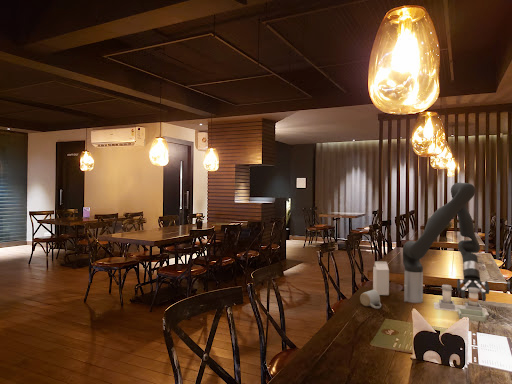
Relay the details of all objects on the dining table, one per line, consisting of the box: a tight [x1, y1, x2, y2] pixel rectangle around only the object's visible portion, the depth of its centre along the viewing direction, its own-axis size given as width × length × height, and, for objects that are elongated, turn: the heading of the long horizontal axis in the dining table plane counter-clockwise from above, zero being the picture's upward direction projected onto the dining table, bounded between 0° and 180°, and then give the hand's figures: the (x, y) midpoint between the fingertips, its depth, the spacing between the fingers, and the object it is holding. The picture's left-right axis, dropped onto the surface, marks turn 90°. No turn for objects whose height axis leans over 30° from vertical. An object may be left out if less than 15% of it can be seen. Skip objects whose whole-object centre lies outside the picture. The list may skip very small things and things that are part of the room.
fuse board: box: [433, 299, 490, 316], centre depth 192 cm, size 24×12×4 cm, turn 66°
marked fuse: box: [468, 287, 480, 307], centre depth 189 cm, size 4×4×11 cm
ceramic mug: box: [359, 289, 382, 310], centre depth 199 cm, size 11×8×8 cm
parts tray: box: [457, 308, 487, 323], centre depth 179 cm, size 11×10×3 cm
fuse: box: [441, 284, 453, 304], centre depth 194 cm, size 4×4×11 cm
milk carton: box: [372, 261, 390, 296], centre depth 222 cm, size 7×7×19 cm
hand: (473, 299), depth 189 cm, fingers open, 8 cm apart
